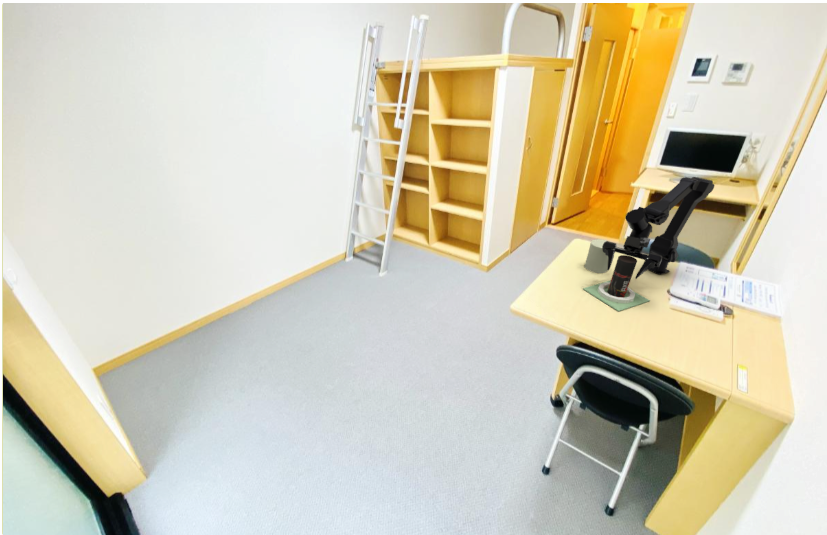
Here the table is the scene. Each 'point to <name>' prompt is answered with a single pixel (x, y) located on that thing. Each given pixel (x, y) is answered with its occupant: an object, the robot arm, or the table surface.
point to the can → (596, 257)
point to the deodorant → (622, 276)
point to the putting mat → (612, 304)
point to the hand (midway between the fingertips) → (621, 274)
